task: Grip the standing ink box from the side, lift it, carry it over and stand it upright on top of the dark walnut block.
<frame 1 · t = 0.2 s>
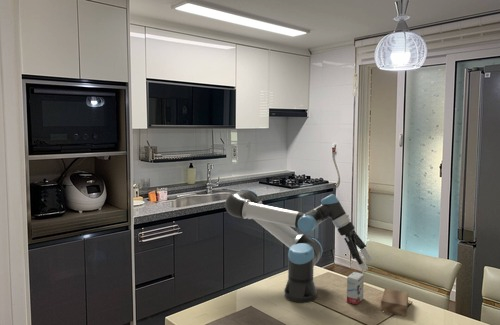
hand: (367, 265, 179), 15 cm above the table, tool tilted 35°, fingers open, 13 cm apart
walnut block: (394, 307, 169), on the table
ink box: (355, 300, 176), on the table
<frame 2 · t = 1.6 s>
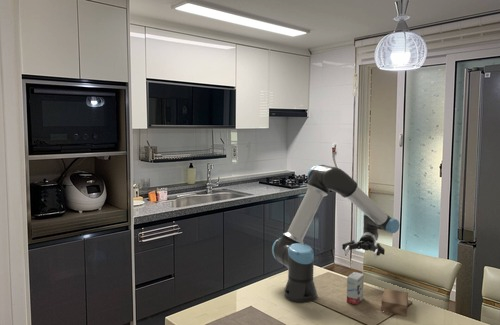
hand: (360, 254, 183), 18 cm above the table, tool horizontal, fingers open, 13 cm apart
nothing on the table moved.
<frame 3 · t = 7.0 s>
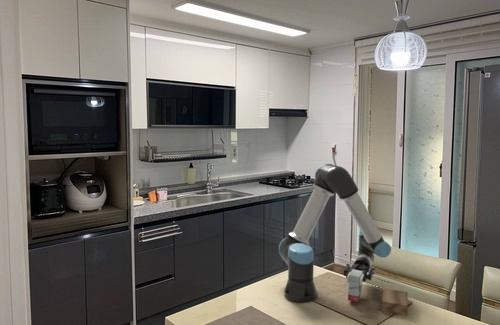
hand: (354, 280, 170), 11 cm above the table, tool horizontal, fingers open, 5 cm apart
ink box: (354, 298, 175), point 1 cm above the table, touching gripper
everything else where it was.
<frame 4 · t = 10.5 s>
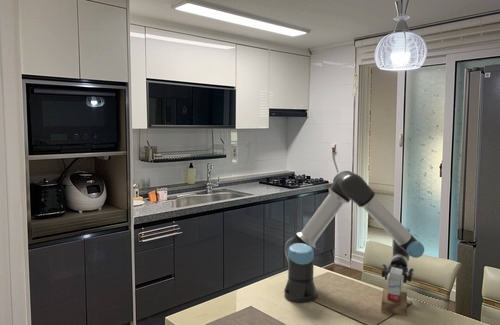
hand: (394, 282, 163), 13 cm above the table, tool horizontal, fingers closed on ink box, 5 cm apart
walnut block: (394, 307, 169), on the table, touching ink box
ink box: (393, 297, 169), point 4 cm above the table, touching gripper, walnut block
when the fingers open (13 cm above the table, at t = 10.6 s): ink box stays where it is, resting on walnut block.
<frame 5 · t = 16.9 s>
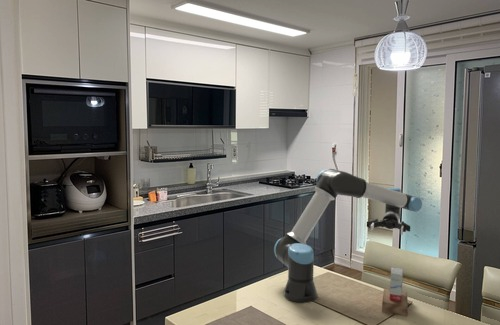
hand: (386, 230, 182), 30 cm above the table, tool horizontal, fingers open, 13 cm apart
ink box: (395, 297, 169), point 4 cm above the table, touching walnut block
everything else where it was.
at the end: ink box inside the target area on the walnut block (0.1 cm from its centre), point 4.8 cm above the walnut block's base; ink box tilted 1°; the gripper is holding nothing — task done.
